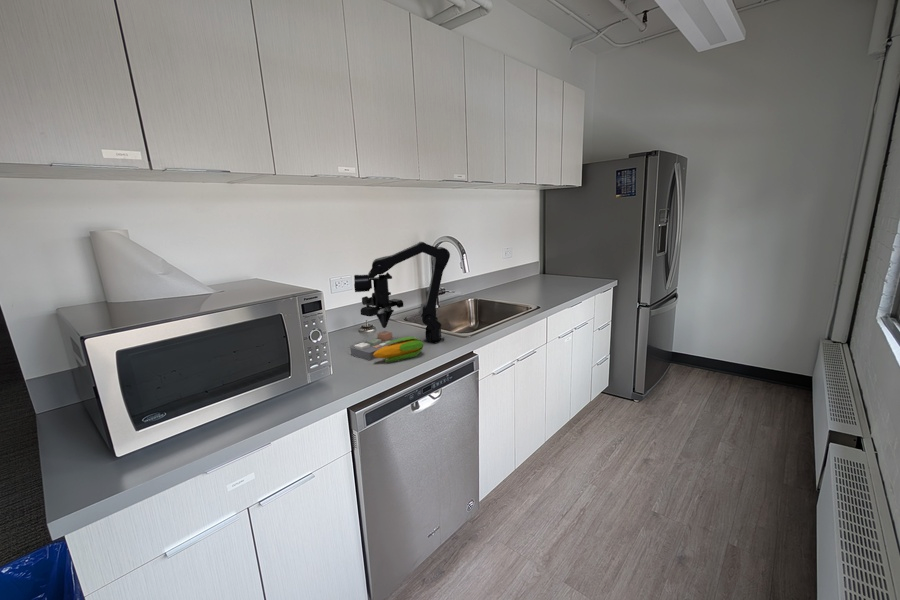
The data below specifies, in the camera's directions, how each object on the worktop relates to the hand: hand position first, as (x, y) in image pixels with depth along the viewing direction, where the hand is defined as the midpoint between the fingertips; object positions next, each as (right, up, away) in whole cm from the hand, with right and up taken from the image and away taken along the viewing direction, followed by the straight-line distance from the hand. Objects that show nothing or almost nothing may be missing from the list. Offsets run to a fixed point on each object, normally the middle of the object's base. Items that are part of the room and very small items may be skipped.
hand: (384, 327), depth 164 cm
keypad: (-2, -9, -4) cm, 10 cm away
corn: (+8, -11, -13) cm, 19 cm away
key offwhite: (-7, -9, -8) cm, 14 cm away
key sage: (-3, -8, -3) cm, 9 cm away
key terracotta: (0, -6, +1) cm, 6 cm away
